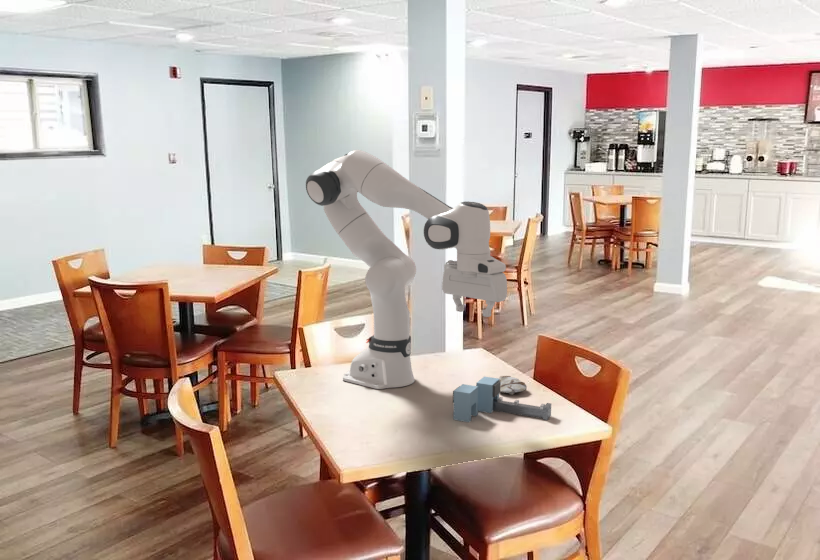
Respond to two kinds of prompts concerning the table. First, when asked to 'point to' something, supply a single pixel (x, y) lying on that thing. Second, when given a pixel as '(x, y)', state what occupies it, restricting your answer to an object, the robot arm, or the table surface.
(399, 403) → the table surface
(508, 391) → the stone
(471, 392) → the light blue block
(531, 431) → the table surface
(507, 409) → the rail
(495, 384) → the light blue rectangular block
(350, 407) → the table surface
